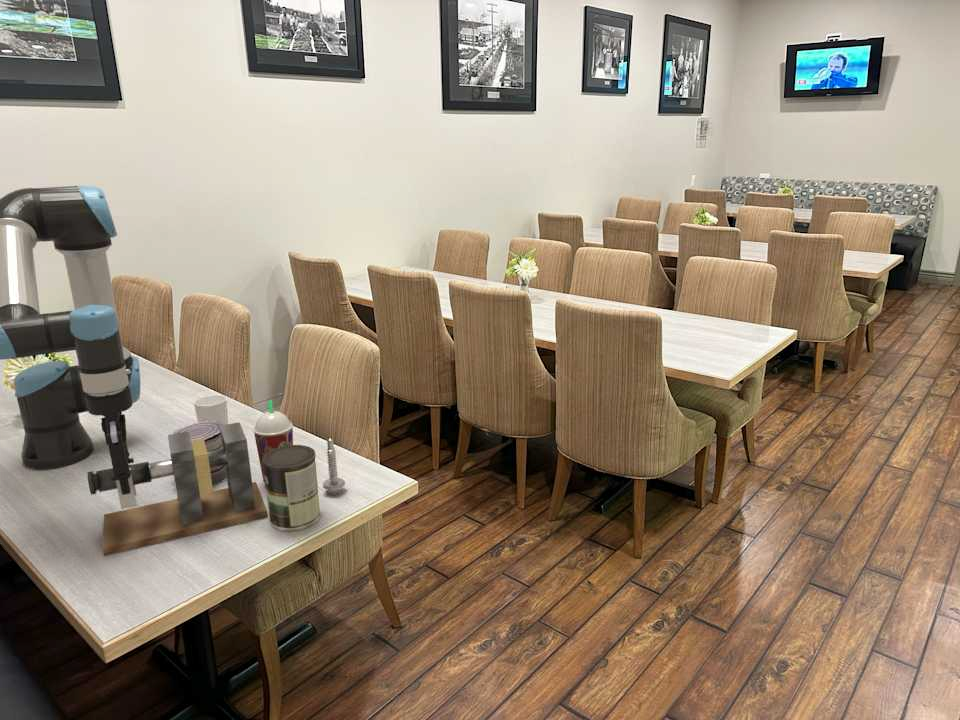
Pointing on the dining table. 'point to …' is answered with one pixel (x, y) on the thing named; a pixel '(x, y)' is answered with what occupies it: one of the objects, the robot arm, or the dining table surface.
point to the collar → (202, 466)
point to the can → (208, 443)
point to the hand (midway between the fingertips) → (129, 501)
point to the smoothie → (272, 433)
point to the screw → (332, 471)
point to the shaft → (145, 472)
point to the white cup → (211, 409)
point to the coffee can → (291, 487)
